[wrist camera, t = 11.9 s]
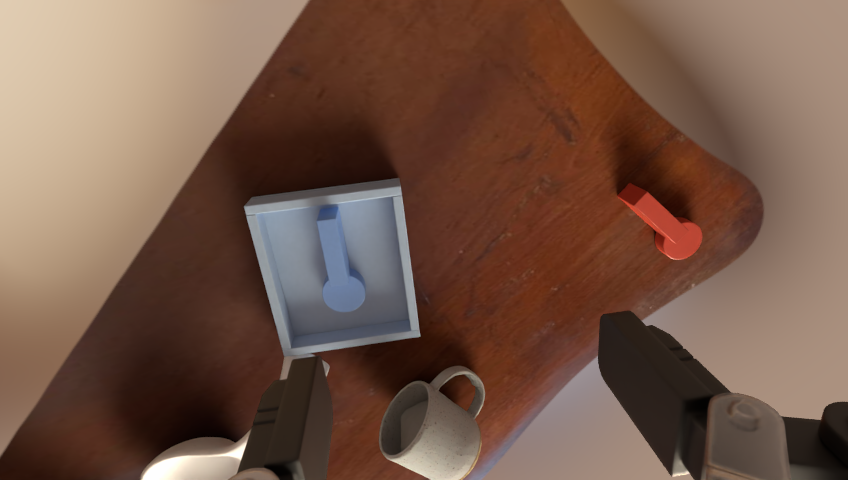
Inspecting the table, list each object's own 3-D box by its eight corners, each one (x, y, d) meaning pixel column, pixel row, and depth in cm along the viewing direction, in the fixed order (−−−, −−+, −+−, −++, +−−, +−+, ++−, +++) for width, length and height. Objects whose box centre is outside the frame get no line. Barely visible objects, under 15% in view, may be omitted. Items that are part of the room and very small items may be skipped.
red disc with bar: (608, 205, 42) (624, 215, 40) (638, 173, 42) (657, 181, 39) (670, 260, 45) (689, 273, 43) (700, 231, 44) (721, 243, 42)
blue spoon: (307, 210, 39) (302, 222, 36) (351, 204, 39) (349, 216, 37) (328, 306, 43) (324, 324, 40) (368, 300, 43) (368, 317, 40)
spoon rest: (234, 511, 53) (215, 578, 46) (134, 471, 49) (97, 539, 42) (358, 375, 47) (356, 430, 40) (255, 318, 43) (234, 369, 36)
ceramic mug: (433, 447, 51) (444, 509, 44) (376, 413, 49) (377, 473, 42) (498, 384, 49) (520, 438, 42) (442, 345, 46) (455, 396, 39)
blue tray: (251, 196, 39) (243, 206, 36) (399, 177, 39) (400, 185, 37) (289, 340, 44) (284, 357, 42) (417, 321, 45) (420, 336, 43)
